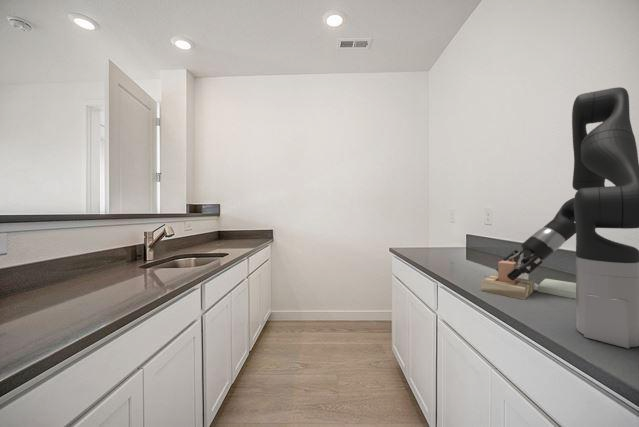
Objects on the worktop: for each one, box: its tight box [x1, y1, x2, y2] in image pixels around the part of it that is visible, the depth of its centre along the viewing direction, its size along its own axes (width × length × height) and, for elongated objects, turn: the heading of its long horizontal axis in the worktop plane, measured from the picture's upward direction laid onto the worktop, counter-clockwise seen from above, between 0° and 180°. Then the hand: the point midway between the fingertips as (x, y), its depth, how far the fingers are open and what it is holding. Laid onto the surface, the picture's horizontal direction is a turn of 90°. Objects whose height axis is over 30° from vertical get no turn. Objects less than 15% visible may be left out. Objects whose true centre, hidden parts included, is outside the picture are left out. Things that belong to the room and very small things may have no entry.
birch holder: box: [480, 273, 536, 300], centre depth 86 cm, size 14×12×4 cm
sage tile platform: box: [537, 278, 576, 300], centre depth 84 cm, size 14×14×2 cm
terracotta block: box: [497, 260, 517, 284], centre depth 86 cm, size 4×4×10 cm
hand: (503, 275), depth 86 cm, fingers open, 8 cm apart
